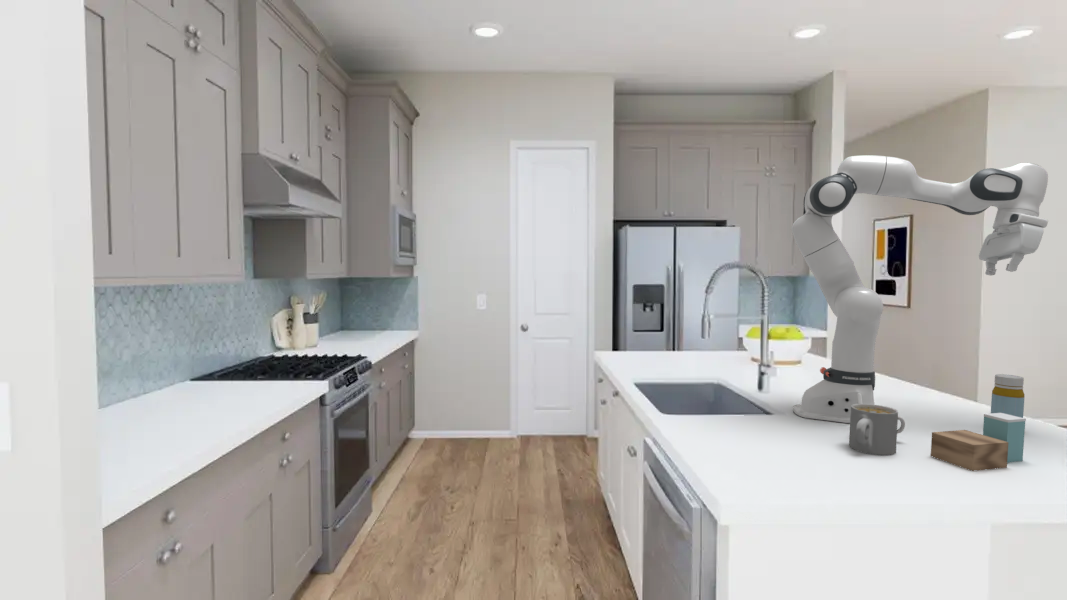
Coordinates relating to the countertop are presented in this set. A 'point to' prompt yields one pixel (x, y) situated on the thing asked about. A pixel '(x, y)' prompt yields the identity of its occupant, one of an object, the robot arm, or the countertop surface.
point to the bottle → (1008, 395)
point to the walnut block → (969, 449)
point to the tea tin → (1006, 432)
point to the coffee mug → (873, 429)
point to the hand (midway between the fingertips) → (999, 273)
